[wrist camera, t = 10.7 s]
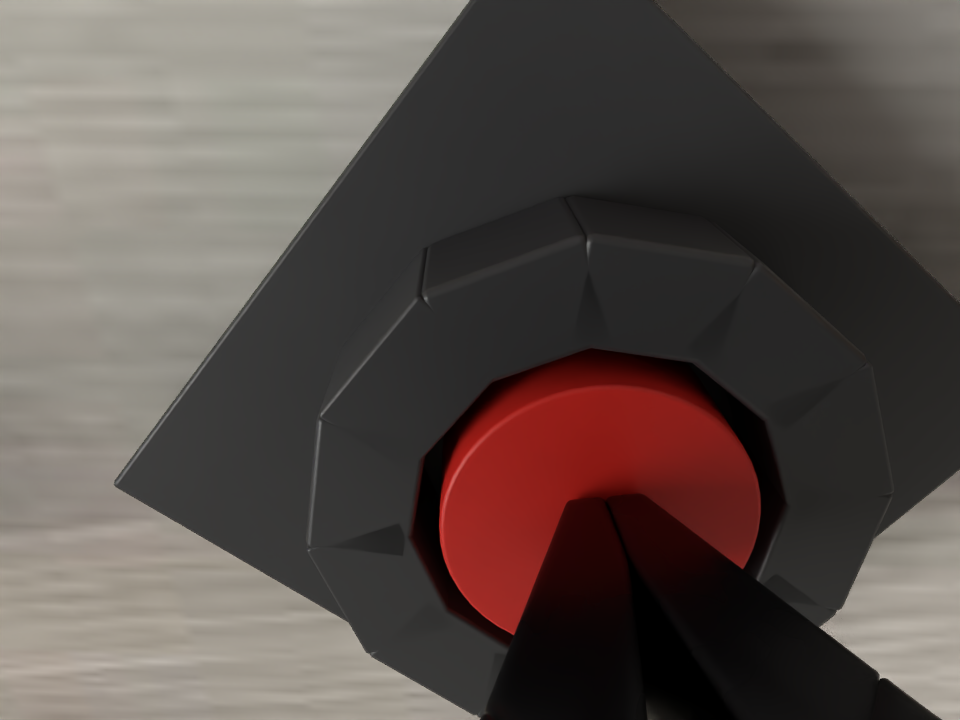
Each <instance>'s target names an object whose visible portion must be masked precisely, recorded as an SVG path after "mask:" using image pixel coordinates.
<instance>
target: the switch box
mask: <svg viewBox="0 0 960 720" xmlns="http://www.w3.org/2000/svg"><path fill="white" fill-rule="evenodd" d="M590 348H594V349H601V350H608V351H615V352H621V353H628V354H635V355H642V356H649V357H656V358H663V359H670V360H676V361H683V362H686V363H687V364H688V365H689V366H690V367H691V369H692V370H693V371H694V372H695V374H696V375H697V376H698V378H699V379H700V380H701V382H702V383H703V385H704V387H705V388H706V390H707V391H708V393H709V394H710V396H711V397H712V399H713V400H714V402H715V403H716V405H717V407H718V408H719V410H720V411H721V413H722V414H723V416H724V417H725V419H726V420H727V422H728V423H729V425H730V427H731V428H732V430H733V431H734V433H735V434H736V436H737V437H738V439H739V440H740V442H741V443H742V445H743V447H744V449H745V450H746V452H747V454H748V456H749V458H750V459H751V461H752V464H753V467H754V470H755V472H756V475H757V478H758V483H759V489H760V495H761V516H760V523H759V530H758V534H757V538H756V541H755V544H754V548H753V550H752V552H751V555H750V557H749V559H748V561H747V563H746V565H745V567H744V568H743V570H744V571H746V572H747V573H748V574H749V575H751V576H752V577H753V578H755V579H756V580H757V581H759V582H760V583H761V584H763V585H764V586H765V587H767V588H768V589H769V590H771V591H772V592H773V593H774V594H776V595H777V596H778V597H780V598H781V599H782V600H784V601H785V602H786V603H788V604H789V605H790V606H792V607H793V608H794V609H795V610H797V611H798V612H799V613H801V614H802V615H803V616H805V617H806V618H807V619H809V620H810V621H811V622H813V623H814V624H815V625H817V626H818V627H820V626H821V625H823V624H824V623H825V622H826V621H828V620H829V619H830V618H832V617H833V616H834V615H835V613H836V612H837V611H836V610H840V609H841V608H842V607H843V605H844V602H845V600H846V598H847V596H848V594H849V591H850V589H851V587H852V585H853V583H854V581H855V578H856V576H857V574H858V572H859V570H860V568H861V565H862V563H863V561H864V559H865V557H866V554H867V552H868V550H869V548H870V546H871V544H872V541H873V539H874V538H875V537H877V536H878V535H879V534H880V533H882V532H883V531H884V530H885V529H886V528H888V527H889V526H890V525H891V524H893V523H894V522H895V521H896V520H898V519H899V518H900V517H901V516H903V515H904V514H905V513H906V512H908V511H909V510H910V509H911V508H913V507H914V506H915V505H916V504H917V503H919V502H920V501H921V500H922V499H924V498H925V497H926V496H927V495H929V494H930V493H931V492H932V491H934V490H935V489H936V488H937V487H939V486H940V485H941V484H942V483H943V482H945V481H946V480H947V479H948V478H950V477H951V476H952V475H953V474H955V473H956V472H957V471H958V470H960V303H959V302H958V301H957V300H956V299H955V298H954V297H953V296H952V295H951V294H950V293H949V292H948V291H947V290H946V289H945V288H944V287H943V286H942V285H941V284H940V283H939V282H938V281H937V280H936V279H934V278H933V277H932V276H931V275H930V274H929V273H928V272H927V271H926V270H925V269H924V268H923V267H922V266H921V265H920V264H919V263H918V262H917V261H916V260H915V259H914V258H913V257H912V256H911V255H910V254H909V253H908V252H907V251H906V250H905V249H904V248H903V247H902V246H901V245H900V244H899V243H898V242H897V241H896V240H895V239H894V238H893V237H892V236H891V235H890V234H889V233H888V232H887V231H886V230H885V229H884V228H883V227H882V226H881V225H880V224H879V223H878V222H877V221H876V220H875V219H874V218H873V217H872V216H871V215H870V214H869V213H868V212H867V211H866V210H865V209H864V208H863V207H862V206H861V205H860V204H859V203H858V202H857V201H856V200H855V199H854V198H852V197H851V196H850V195H849V194H848V193H847V192H846V191H845V190H844V189H843V188H842V187H841V186H840V185H839V184H838V183H837V182H836V181H835V180H834V179H833V178H832V177H831V176H830V175H829V174H828V173H827V172H826V171H825V170H824V169H823V168H822V167H821V166H820V165H819V164H818V163H817V162H816V161H815V160H814V159H813V158H812V157H811V156H810V155H809V154H808V153H807V152H806V151H805V150H804V149H803V148H802V147H801V146H800V145H799V144H798V143H797V142H796V141H795V140H794V139H793V138H792V137H791V136H790V135H789V134H788V133H787V132H786V131H785V130H784V129H783V128H782V127H781V126H780V125H779V124H778V123H777V122H776V121H775V120H774V119H773V118H772V117H771V116H769V115H768V114H767V113H766V112H765V111H764V110H763V109H762V108H761V107H760V106H759V105H758V104H757V103H756V102H755V101H754V100H753V99H752V98H751V97H750V96H749V95H748V94H747V93H746V92H745V91H744V90H743V89H742V88H741V87H740V86H739V85H738V84H737V83H736V82H735V81H734V80H733V79H732V78H731V77H730V76H729V75H728V74H727V73H726V72H725V71H724V70H723V69H722V68H721V67H720V66H719V65H718V64H717V63H716V62H715V61H714V60H713V59H712V58H711V57H710V56H709V55H708V54H707V53H706V52H705V51H704V50H703V49H702V48H701V47H700V46H699V45H698V44H697V43H696V42H695V41H694V40H693V39H692V38H691V37H690V36H689V35H688V34H686V33H685V32H684V31H683V30H682V29H681V28H680V27H679V26H678V25H677V24H676V23H675V22H674V21H673V20H672V19H671V18H670V17H669V16H668V15H667V14H666V13H665V12H664V11H663V10H662V9H661V8H660V7H659V6H658V5H657V4H656V3H655V2H654V1H653V0H470V1H469V3H468V4H467V5H466V7H465V8H464V9H463V11H462V12H461V13H460V15H459V16H458V17H457V19H456V20H455V22H454V23H453V24H452V26H451V27H450V28H449V30H448V31H447V32H446V34H445V35H444V36H443V38H442V39H441V40H440V42H439V43H438V44H437V46H436V47H435V49H434V50H433V51H432V53H431V54H430V55H429V57H428V58H427V59H426V61H425V62H424V63H423V65H422V66H421V67H420V69H419V70H418V72H417V73H416V74H415V76H414V77H413V78H412V80H411V81H410V82H409V84H408V85H407V86H406V88H405V89H404V90H403V92H402V93H401V94H400V96H399V97H398V99H397V100H396V101H395V103H394V104H393V105H392V107H391V108H390V109H389V111H388V112H387V113H386V115H385V116H384V117H383V119H382V120H381V122H380V123H379V124H378V126H377V127H376V128H375V130H374V131H373V132H372V134H371V135H370V136H369V138H368V139H367V140H366V142H365V143H364V144H363V146H362V147H361V149H360V150H359V151H358V153H357V154H356V155H355V157H354V158H353V159H352V161H351V162H350V163H349V165H348V166H347V167H346V169H345V170H344V172H343V173H342V174H341V176H340V177H339V178H338V180H337V181H336V182H335V184H334V185H333V186H332V188H331V189H330V190H329V192H328V193H327V195H326V196H325V197H324V199H323V200H322V201H321V203H320V204H319V205H318V207H317V208H316V209H315V211H314V212H313V213H312V215H311V216H310V217H309V219H308V220H307V222H306V223H305V224H304V226H303V227H302V228H301V230H300V231H299V232H298V234H297V235H296V236H295V238H294V239H293V240H292V242H291V243H290V245H289V246H288V247H287V249H286V250H285V251H284V253H283V254H282V255H281V257H280V258H279V259H278V261H277V262H276V263H275V265H274V266H273V267H272V269H271V270H270V272H269V273H268V274H267V276H266V277H265V278H264V280H263V281H262V282H261V284H260V285H259V286H258V288H257V289H256V290H255V292H254V293H253V295H252V296H251V297H250V299H249V300H248V301H247V303H246V304H245V305H244V307H243V308H242V309H241V311H240V312H239V313H238V315H237V316H236V317H235V319H234V320H233V322H232V323H231V324H230V326H229V327H228V328H227V330H226V331H225V332H224V334H223V335H222V336H221V338H220V339H219V340H218V342H217V343H216V345H215V346H214V347H213V349H212V350H211V351H210V353H209V354H208V355H207V357H206V358H205V359H204V361H203V362H202V363H201V365H200V366H199V367H198V369H197V370H196V372H195V373H194V374H193V376H192V377H191V378H190V380H189V381H188V382H187V384H186V385H185V386H184V388H183V389H182V390H181V392H180V393H179V395H178V396H177V397H176V399H175V400H174V401H173V403H172V404H171V405H170V407H169V408H168V409H167V411H166V412H165V413H164V415H163V416H162V417H161V419H160V420H159V422H158V423H157V424H156V426H155V427H154V428H153V430H152V431H151V432H150V434H149V435H148V436H147V438H146V439H145V440H144V442H143V443H142V445H141V446H140V447H139V449H138V450H137V451H136V453H135V454H134V455H133V457H132V458H131V459H130V461H129V462H128V463H127V465H126V466H125V467H124V469H123V470H122V472H121V473H120V474H119V476H118V477H117V478H116V480H115V482H114V485H115V486H116V487H117V488H119V489H120V490H122V491H124V492H126V493H127V494H129V495H131V496H132V497H134V498H136V499H138V500H139V501H141V502H143V503H144V504H146V505H148V506H150V507H151V508H153V509H155V510H156V511H158V512H160V513H162V514H163V515H165V516H167V517H168V518H170V519H172V520H174V521H175V522H177V523H179V524H181V525H182V526H184V527H186V528H187V529H189V530H191V531H193V532H194V533H196V534H198V535H199V536H201V537H203V538H205V539H206V540H208V541H210V542H211V543H213V544H215V545H217V546H218V547H220V548H222V549H223V550H225V551H227V552H229V553H230V554H232V555H234V556H236V557H237V558H239V559H241V560H242V561H244V562H246V563H248V564H249V565H251V566H253V567H254V568H256V569H258V570H260V571H261V572H263V573H265V574H266V575H268V576H270V577H272V578H273V579H275V580H277V581H278V582H280V583H282V584H284V585H285V586H287V587H289V588H291V589H292V590H294V591H296V592H297V593H299V594H301V595H303V596H304V597H306V598H308V599H309V600H311V601H313V602H315V603H316V604H318V605H320V606H321V607H323V608H325V609H327V610H328V611H330V612H332V613H333V614H335V615H337V616H339V617H340V618H342V619H344V620H346V621H347V622H349V624H350V625H351V627H352V629H353V631H354V632H355V634H356V636H357V637H358V639H359V641H360V643H361V644H362V646H363V648H364V649H365V651H366V652H367V653H370V655H371V656H372V657H373V658H375V659H377V660H378V661H380V662H382V663H384V664H385V665H387V666H389V667H391V668H392V669H394V670H396V671H398V672H399V673H401V674H403V675H405V676H406V677H408V678H410V679H412V680H413V681H415V682H417V683H419V684H420V685H422V686H424V687H426V688H427V689H429V690H431V691H432V692H434V693H436V694H438V695H439V696H441V697H443V698H445V699H446V700H448V701H450V702H452V703H453V704H455V705H457V706H459V707H460V708H462V709H464V710H466V711H467V712H469V713H471V714H473V715H478V717H480V718H481V716H482V715H484V714H485V707H486V704H487V702H488V699H489V697H490V694H491V692H492V689H493V687H494V684H495V682H496V679H497V677H498V674H499V671H500V669H501V666H502V664H503V661H504V659H505V656H506V654H507V651H508V649H509V646H510V644H511V641H512V639H513V636H514V635H513V634H511V633H509V632H507V631H505V630H503V629H502V628H500V627H498V626H497V625H495V624H494V623H492V622H491V621H489V620H488V619H487V618H485V617H484V616H483V615H482V614H481V613H480V612H478V611H477V610H476V609H475V608H474V607H473V606H472V605H471V604H470V603H469V601H468V600H467V599H466V598H465V597H464V595H463V594H462V593H461V592H460V590H459V589H458V587H457V585H456V584H455V582H454V580H453V579H452V577H451V575H450V573H449V570H448V568H447V565H446V563H445V560H444V557H443V553H442V548H441V544H440V532H439V516H440V493H441V470H442V448H443V437H444V435H445V433H446V432H447V431H448V430H449V429H450V428H451V427H452V426H453V425H454V424H455V423H456V421H457V420H458V419H459V418H460V417H461V416H462V415H463V414H464V413H465V412H466V410H467V409H468V408H469V407H470V406H471V405H472V404H473V403H474V402H475V401H476V400H477V398H478V397H479V396H480V395H481V394H482V393H483V392H484V391H485V390H486V389H487V387H488V386H489V385H490V384H491V383H492V382H494V381H497V380H500V379H503V378H506V377H509V376H512V375H515V374H518V373H520V372H523V371H526V370H529V369H532V368H535V367H538V366H541V365H544V364H546V363H549V362H552V361H555V360H558V359H561V358H564V357H567V356H569V355H572V354H575V353H578V352H581V351H584V350H587V349H590Z"/></svg>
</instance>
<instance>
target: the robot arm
mask: <svg viewBox="0 0 960 720" xmlns="http://www.w3.org/2000/svg"><path fill="white" fill-rule="evenodd" d="M480 720H942V719H940V718H939V717H937V716H936V715H935V714H933V713H932V712H931V711H929V710H928V709H926V708H925V707H924V706H922V705H921V704H920V703H918V702H917V701H916V700H914V699H913V698H912V697H910V696H909V695H908V694H906V693H905V692H904V691H902V690H901V689H900V688H899V687H897V686H896V685H895V684H893V683H892V682H891V681H889V680H888V679H886V678H882V679H880V680H879V673H878V672H877V671H876V670H874V669H873V668H872V667H870V666H869V665H868V664H866V663H865V662H864V661H863V660H861V659H860V658H859V657H857V656H856V655H855V654H853V653H852V652H851V651H849V650H848V649H847V648H845V647H844V646H843V645H841V644H840V643H839V642H838V641H836V640H835V639H834V638H832V637H831V636H830V635H828V634H827V633H826V632H824V631H823V630H822V629H820V628H819V627H818V626H817V625H815V624H814V623H813V622H811V621H810V620H809V619H807V618H806V617H805V616H803V615H802V614H801V613H799V612H798V611H797V610H795V609H794V608H793V607H792V606H790V605H789V604H788V603H786V602H785V601H784V600H782V599H781V598H780V597H778V596H777V595H776V594H774V593H773V592H772V591H771V590H769V589H768V588H767V587H765V586H764V585H763V584H761V583H760V582H759V581H757V580H756V579H755V578H753V577H752V576H751V575H749V574H748V573H747V572H746V571H744V570H743V569H742V568H740V567H739V566H738V565H736V564H735V563H734V562H732V561H731V560H730V559H728V558H727V557H726V556H724V555H723V554H722V553H721V552H719V551H718V550H717V549H715V548H714V547H713V546H711V545H710V544H709V543H707V542H706V541H705V540H703V539H702V538H701V537H700V536H698V535H697V534H696V533H694V532H693V531H692V530H690V529H689V528H688V527H686V526H685V525H684V524H682V523H681V522H680V521H678V520H677V519H676V518H675V517H673V516H672V515H671V514H669V513H668V512H667V511H665V510H664V509H663V508H661V507H660V506H659V505H657V504H656V503H655V502H654V501H652V500H651V499H650V498H648V497H647V496H645V495H643V494H640V493H636V494H627V495H616V496H610V497H608V498H607V500H606V502H605V501H604V499H602V498H599V497H596V498H585V499H574V500H569V501H568V502H567V503H566V505H565V507H564V510H563V512H562V515H561V517H560V520H559V522H558V525H557V527H556V530H555V532H554V535H553V537H552V540H551V542H550V545H549V547H548V550H547V553H546V555H545V558H544V560H543V563H542V565H541V568H540V570H539V573H538V575H537V578H536V580H535V583H534V585H533V588H532V591H531V593H530V596H529V598H528V601H527V603H526V606H525V608H524V611H523V613H522V616H521V618H520V621H519V623H518V626H517V628H516V631H515V634H514V636H513V639H512V641H511V644H510V646H509V649H508V651H507V654H506V656H505V659H504V661H503V664H502V666H501V669H500V671H499V674H498V677H497V679H496V682H495V684H494V687H493V689H492V692H491V694H490V697H489V699H488V702H487V704H486V707H485V714H484V715H482V716H481V718H480Z"/></svg>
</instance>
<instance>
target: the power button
mask: <svg viewBox="0 0 960 720" xmlns="http://www.w3.org/2000/svg"><path fill="white" fill-rule="evenodd" d="M636 493H640V494H643V495H645V496H647V497H648V498H650V499H651V500H652V501H654V502H655V503H656V504H657V505H659V506H660V507H661V508H663V509H664V510H665V511H667V512H668V513H669V514H671V515H672V516H673V517H675V518H676V519H677V520H678V521H680V522H681V523H682V524H684V525H685V526H686V527H688V528H689V529H690V530H692V531H693V532H694V533H696V534H697V535H698V536H700V537H701V538H702V539H703V540H705V541H706V542H707V543H709V544H710V545H711V546H713V547H714V548H715V549H717V550H718V551H719V552H721V553H722V554H723V555H724V556H726V557H727V558H728V559H730V560H731V561H732V562H734V563H735V564H736V565H738V566H739V567H740V568H742V569H743V568H744V567H745V565H746V563H747V561H748V559H749V557H750V555H751V552H752V550H753V548H754V544H755V541H756V538H757V534H758V530H759V523H760V516H761V495H760V489H759V483H758V478H757V475H756V472H755V470H754V467H753V464H752V461H751V459H750V458H749V456H748V454H747V452H746V450H745V449H744V447H743V445H742V443H741V442H740V440H739V439H738V437H737V436H736V434H735V433H734V431H733V430H732V428H731V427H730V425H729V423H728V422H727V420H726V419H725V417H724V416H723V414H722V413H721V411H720V410H719V408H718V407H717V405H716V403H715V402H714V400H713V399H712V397H711V396H710V394H709V393H708V391H707V390H706V388H705V387H704V385H703V383H702V382H701V380H700V379H699V378H698V376H697V375H696V374H695V372H694V371H693V370H692V369H691V367H690V366H689V365H688V364H687V363H686V362H683V361H676V360H670V359H663V358H656V357H649V356H642V355H635V354H628V353H621V352H615V351H608V350H601V349H594V348H590V349H587V350H584V351H581V352H578V353H575V354H572V355H569V356H567V357H564V358H561V359H558V360H555V361H552V362H549V363H546V364H544V365H541V366H538V367H535V368H532V369H529V370H526V371H523V372H520V373H518V374H515V375H512V376H509V377H506V378H503V379H500V380H497V381H494V382H492V383H491V384H490V385H489V386H488V387H487V389H486V390H485V391H484V392H483V393H482V394H481V395H480V396H479V397H478V398H477V400H476V401H475V402H474V403H473V404H472V405H471V406H470V407H469V408H468V409H467V410H466V412H465V413H464V414H463V415H462V416H461V417H460V418H459V419H458V420H457V421H456V423H455V424H454V425H453V426H452V427H451V428H450V429H449V430H448V431H447V432H446V433H445V435H444V437H443V448H442V470H441V493H440V516H439V532H440V544H441V548H442V553H443V557H444V560H445V563H446V565H447V568H448V570H449V573H450V575H451V577H452V579H453V580H454V582H455V584H456V585H457V587H458V589H459V590H460V592H461V593H462V594H463V595H464V597H465V598H466V599H467V600H468V601H469V603H470V604H471V605H472V606H473V607H474V608H475V609H476V610H477V611H478V612H480V613H481V614H482V615H483V616H484V617H485V618H487V619H488V620H489V621H491V622H492V623H494V624H495V625H497V626H498V627H500V628H502V629H503V630H505V631H507V632H509V633H511V634H513V635H514V634H515V631H516V628H517V626H518V623H519V621H520V618H521V616H522V613H523V611H524V608H525V606H526V603H527V601H528V598H529V596H530V593H531V591H532V588H533V585H534V583H535V580H536V578H537V575H538V573H539V570H540V568H541V565H542V563H543V560H544V558H545V555H546V553H547V550H548V547H549V545H550V542H551V540H552V537H553V535H554V532H555V530H556V527H557V525H558V522H559V520H560V517H561V515H562V512H563V510H564V507H565V505H566V503H567V502H568V501H569V500H574V499H585V498H596V497H599V498H602V499H604V501H605V502H606V500H607V498H608V497H610V496H616V495H627V494H636Z"/></svg>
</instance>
